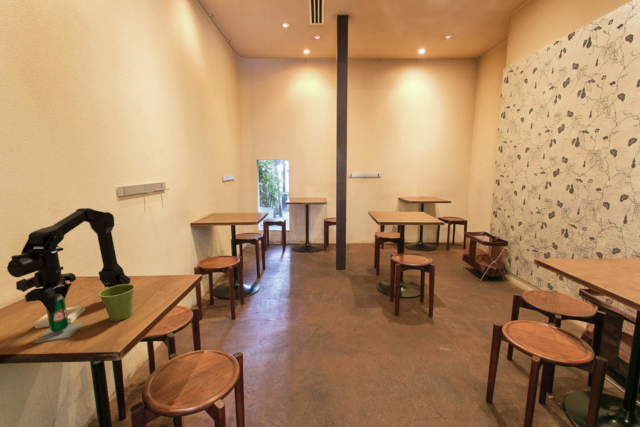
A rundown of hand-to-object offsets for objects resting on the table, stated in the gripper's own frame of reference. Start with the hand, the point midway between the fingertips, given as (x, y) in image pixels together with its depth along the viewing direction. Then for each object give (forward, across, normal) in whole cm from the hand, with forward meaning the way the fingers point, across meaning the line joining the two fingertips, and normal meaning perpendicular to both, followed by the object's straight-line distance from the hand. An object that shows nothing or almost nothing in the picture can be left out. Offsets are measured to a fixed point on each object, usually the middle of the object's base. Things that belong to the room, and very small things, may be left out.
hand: (56, 309), depth 105 cm
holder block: (+9, -13, -6) cm, 17 cm away
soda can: (+7, 0, 0) cm, 7 cm away
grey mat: (+9, 0, 0) cm, 9 cm away
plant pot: (+9, -6, +17) cm, 20 cm away
